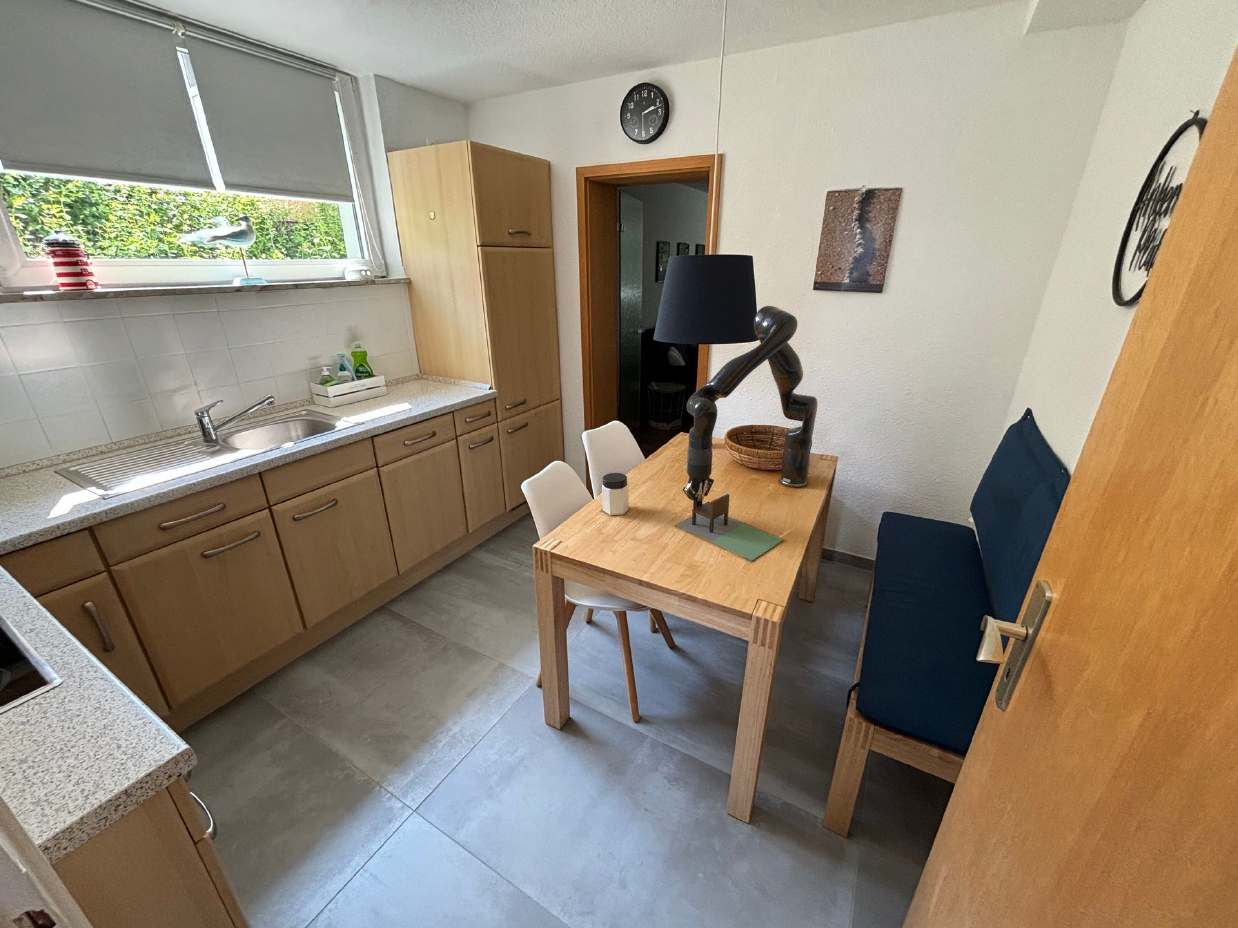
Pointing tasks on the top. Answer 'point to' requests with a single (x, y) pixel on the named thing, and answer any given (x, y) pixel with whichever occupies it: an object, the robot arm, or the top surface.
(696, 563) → the top surface
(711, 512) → the chair
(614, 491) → the jar
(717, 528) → the runner mat
